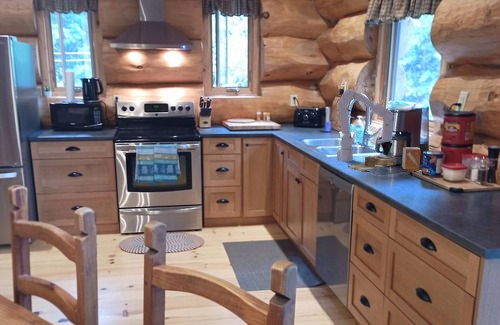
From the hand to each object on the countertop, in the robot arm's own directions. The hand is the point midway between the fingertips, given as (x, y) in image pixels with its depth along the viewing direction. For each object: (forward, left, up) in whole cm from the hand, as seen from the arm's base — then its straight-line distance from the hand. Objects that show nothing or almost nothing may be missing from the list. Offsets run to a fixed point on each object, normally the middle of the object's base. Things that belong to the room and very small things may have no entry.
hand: (386, 154), depth 263 cm
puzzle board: (0, -11, -6) cm, 13 cm away
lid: (0, 0, -1) cm, 1 cm away
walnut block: (0, -13, -6) cm, 15 cm away
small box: (+17, 0, -7) cm, 19 cm away
